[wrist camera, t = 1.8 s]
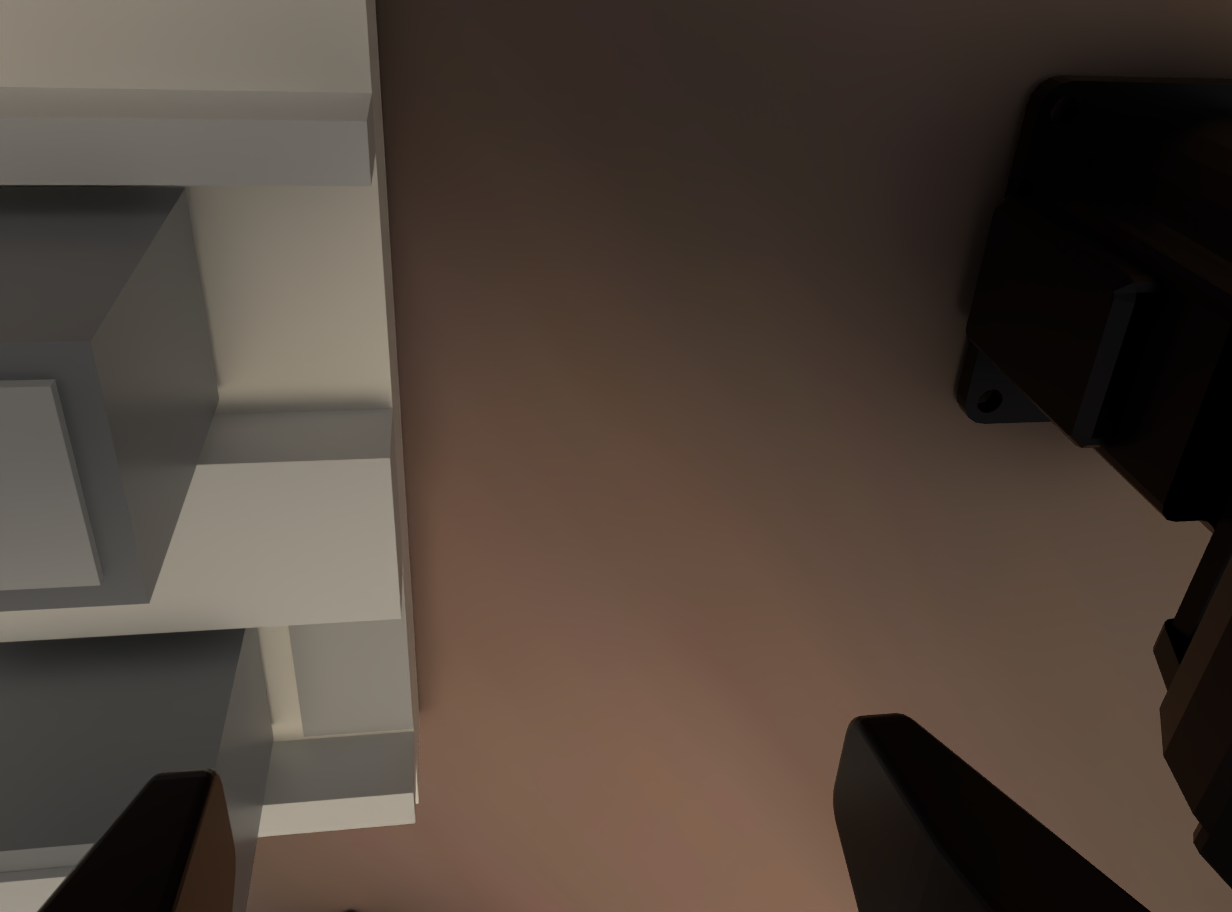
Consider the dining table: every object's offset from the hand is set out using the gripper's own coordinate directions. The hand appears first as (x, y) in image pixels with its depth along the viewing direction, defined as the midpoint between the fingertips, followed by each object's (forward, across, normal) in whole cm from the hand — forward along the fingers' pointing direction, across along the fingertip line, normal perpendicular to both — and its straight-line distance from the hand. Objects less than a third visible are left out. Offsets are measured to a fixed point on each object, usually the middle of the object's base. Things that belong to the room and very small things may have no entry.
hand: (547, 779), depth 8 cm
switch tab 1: (+9, +6, 0) cm, 11 cm away
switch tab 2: (+9, +6, +7) cm, 13 cm away
